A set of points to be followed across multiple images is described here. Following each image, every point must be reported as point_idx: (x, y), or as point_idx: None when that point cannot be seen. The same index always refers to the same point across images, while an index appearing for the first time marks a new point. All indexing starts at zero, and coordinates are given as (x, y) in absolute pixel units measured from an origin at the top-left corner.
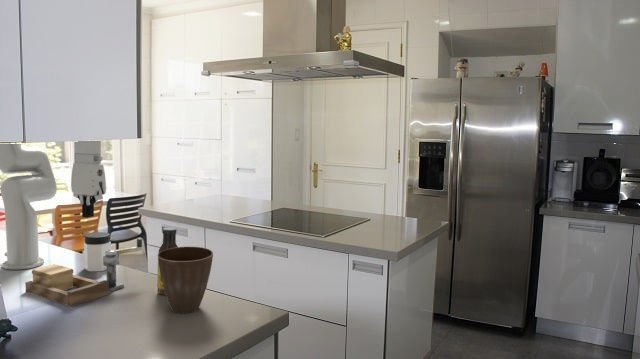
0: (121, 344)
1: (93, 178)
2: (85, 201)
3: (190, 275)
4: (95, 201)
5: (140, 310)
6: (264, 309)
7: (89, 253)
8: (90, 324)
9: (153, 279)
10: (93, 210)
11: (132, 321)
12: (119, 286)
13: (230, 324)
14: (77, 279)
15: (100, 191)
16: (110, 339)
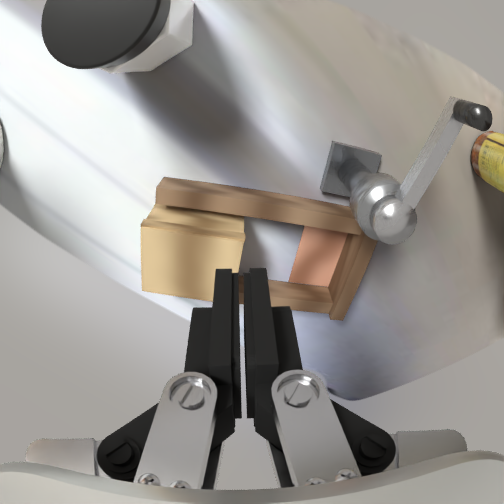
0: (466, 345)
1: None
2: (218, 435)
3: None
4: (352, 421)
5: (467, 261)
6: None
7: (134, 68)
8: (411, 330)
9: (415, 62)
10: (293, 327)
11: (466, 298)
12: (376, 169)
13: None
14: (254, 216)
15: None
16: (452, 344)
